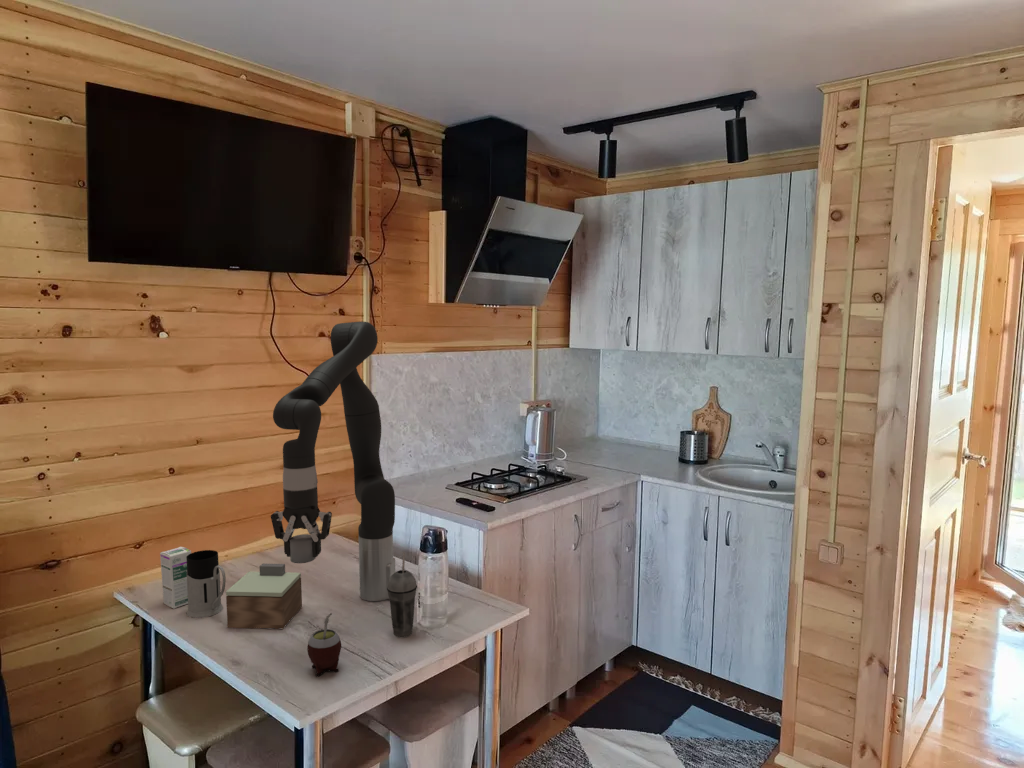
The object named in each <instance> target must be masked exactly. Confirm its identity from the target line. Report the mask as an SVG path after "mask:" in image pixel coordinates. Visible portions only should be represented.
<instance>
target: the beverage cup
mask: <svg viewBox="0 0 1024 768" xmlns="http://www.w3.org/2000/svg"><path fill="white" fill-rule="evenodd" d="M405 559H406V551H402V567H401V568H402V569H400V570H396V571H395V573H394V574H393V575H392V576H391V577H390V579H389V581H388V586H387V590H388V596H389V599H388V600H389V606H390V607H389V608H390V614H391V616H390V617H391V625H392V631H393V636H394V637H397V638H407V637H409V636H411V635H413V628H414V617H415V616H414V615H415V605H416V604H415V603H416V602H415V601H416V600H415V599H416V594H417V589H418V585H417V580H416V578H415V576H414V575H413V574H412V572H410V571H409V570H405V562H406V561H405Z"/></svg>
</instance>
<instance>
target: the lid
mask: <svg viewBox="0 0 1024 768" xmlns="http://www.w3.org/2000/svg"><path fill="white" fill-rule="evenodd" d="M300 577H301V578H302V573H301V572H289V571H288V572H286V564H285V563H261V564H260V565H259V571H248V572H247V573H246V574H245V575H243V576H242V577H241V578H239V580H238V581H236V582H235V583H234V584H233V585H232V586H230V587H229V588H228V589H227V590H226V591H225V596H227V595H228V596H272V597H282V596H283V595H284V594H285V593H286V592H287V591H288V590H289V589H290V587H291V586H292V585H293V584H294V583H295V582H296V581H297V580H298V579H299V578H300Z"/></svg>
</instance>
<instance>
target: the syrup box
mask: <svg viewBox="0 0 1024 768" xmlns="http://www.w3.org/2000/svg"><path fill="white" fill-rule="evenodd" d="M191 553H192V550H191V549H189V548H187V547H184V546H179V547H176V548H172V549H169V550H166V551H161V552H159V555H160V556H159V559H160V567H161V569H160V572H161V573H160V574H161V586H162V598H163V605H166V606H167V607H169V608H171V609H173V610H175V609H177V608H179V607H183V606H186V605H188V592H187V558H186V557H187V556H188V555H189V554H191Z"/></svg>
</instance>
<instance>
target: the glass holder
mask: <svg viewBox="0 0 1024 768" xmlns="http://www.w3.org/2000/svg"><path fill="white" fill-rule="evenodd" d="M186 558H187V592H188V604H187V607H188V608H187V610H186V616H187V617H189V618H194V619H195V618H196V619H199V618H201V619H202V618H203V619H204V618H208V617H212V616H214V615H217V614H219V613H221V612H223V610H224V606H223V604H222V596H223V595H224V593H225V589H226V583H227V582H226V572H225V569H224V567H223V566H222V565H220V564H219V552H218V551H216V550H213V549H209V550H208V549H203V550H198V551H194V552H191V554H189V555H188V556H187V557H186ZM220 572H221V573H220ZM221 574H222V584H221ZM221 585H222V586H221Z"/></svg>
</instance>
